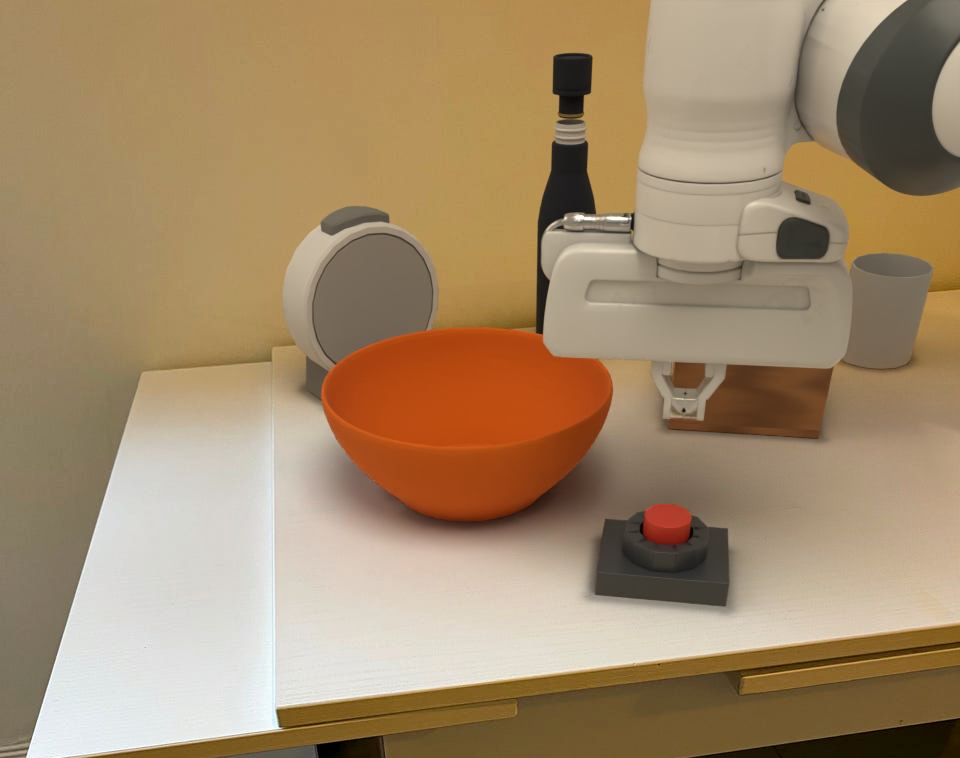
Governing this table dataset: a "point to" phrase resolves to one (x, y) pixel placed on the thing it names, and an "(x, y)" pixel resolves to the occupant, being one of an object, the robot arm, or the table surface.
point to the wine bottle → (565, 159)
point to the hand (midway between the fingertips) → (682, 416)
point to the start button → (667, 524)
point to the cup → (886, 308)
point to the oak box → (758, 399)
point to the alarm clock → (356, 288)
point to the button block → (663, 564)
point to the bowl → (466, 418)
